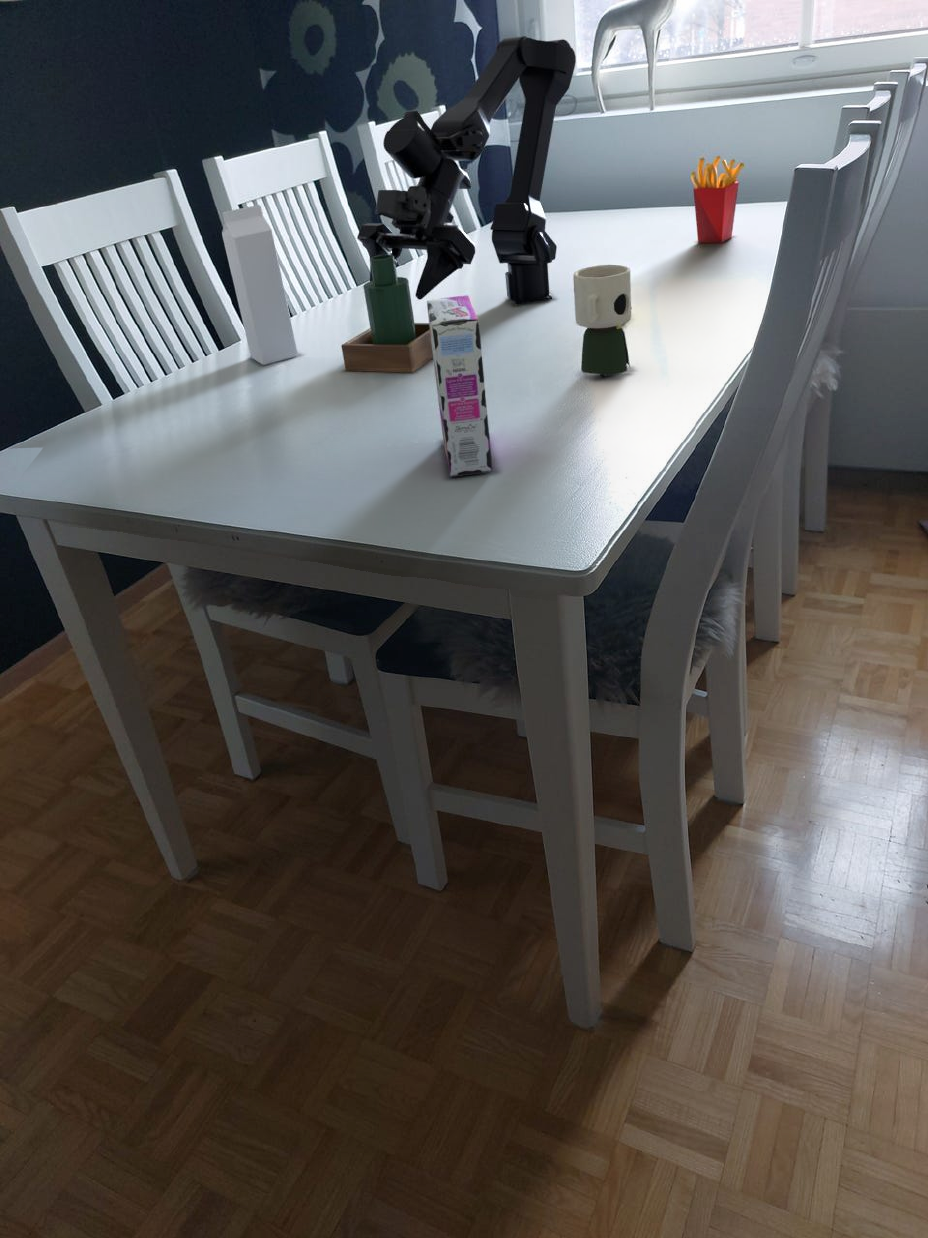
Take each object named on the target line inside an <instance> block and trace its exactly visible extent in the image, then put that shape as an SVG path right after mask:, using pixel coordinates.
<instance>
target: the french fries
mask: <svg viewBox="0 0 928 1238" xmlns="http://www.w3.org/2000/svg"><path fill="white" fill-rule="evenodd" d="M721 159H722V157H721V156H720V155H717V156H715V159H714V160H713V162H711V163H710V162H709V163H706V164H705V157H701V158H699V159H698V164H697V169H696V171H694V170H693V171H692V172H691V175H690V179H691V182H692V184H693V185H694V188H693V189H692V190H693V201H694V211H695V212H694V213H695V222H696V234H697V243H708V244H713V243H715V244H716V243H717V244H722V243H724V242H726V241H727V240H729V239H731V238H732V236H733V228H734V222H735V215H736V208H737V207H736V206H737V198H738V193H739V184H740V181H737V179H738V176H739V174H740V173H741V171H742V169H743V168H744V167H745V163H744V162H739V163H738V164H737V166H736V167H734V165H735V164H736V159H734V158H733V159H731V160H730V162H729V163H728V164H727V161H726V159H723V160H721ZM720 162H721V163H722V165H723V167H724V171H725V172H722V173H720V174H719V175H718V166H719V163H720ZM704 164H705V167H704ZM696 173H697V174H696Z"/></svg>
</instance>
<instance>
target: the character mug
mask: <svg viewBox="0 0 928 1238" xmlns="http://www.w3.org/2000/svg"><path fill="white" fill-rule="evenodd" d="M631 278H632V277H631V268H630V266H627V265H622V264H599V265H593V266H587V267H584V268H580V269H578V270H576V271H574V272H573V278H572V279H573V297H574V316H575V323H576V324H577V325H578V326H579V327H583V328H586V329H585V331H584V333H583V337H582V348H581V365H580V367H581V368H580V369H581V372H582V373H586V374H590V375H592V374H593V375H599V376H600V377H602V378H603V377H605V376H608V377H610V376H615V375H621V374H623V373H625V372H627V371H628V368H631V366H630V365H631V364H630V356H629V350H628V345H627V344H628V343H627V339H626V334H625V330H624V329H623V327H622V326H623V324H626V323H628V322H630V321H631V319H632V311H633V310H632V309H631V307H632V279H631Z"/></svg>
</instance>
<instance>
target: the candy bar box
mask: <svg viewBox="0 0 928 1238" xmlns="http://www.w3.org/2000/svg"><path fill="white" fill-rule="evenodd" d="M426 307H427V318H428V323H429V327H430V335H431V344H432V352H433V358H432V359H433V360H432V361H433V367H434V377H435V382H436V383H435V384H436V393H437V394H436V395H437V401H438V402H437V403H438V409H439V416H440V424H441V431H442V432H441V433H442V440H443V446H444V450H445V457H446V461H447V467H448V475H449V477H452V478H453V477H463V476H470V475H477V474H487V473H491V472H493V470H494V469H493V462H492V450H491V449H492V448H491V440H490V428H489V417H488V404H487V393H486V384H485V374H484V373H485V372H484V363H483V361H484V360H483V352H482V350H483V349H482V342H481V341H482V340H481V331H480V329H481V328H480V320H479V317H478V315H477V313H476V310H475V308H474V305H473V303H472V299H471V297H470V296H469V295H458V296H449V297H442V298H437V299H429V300H426Z"/></svg>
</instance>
